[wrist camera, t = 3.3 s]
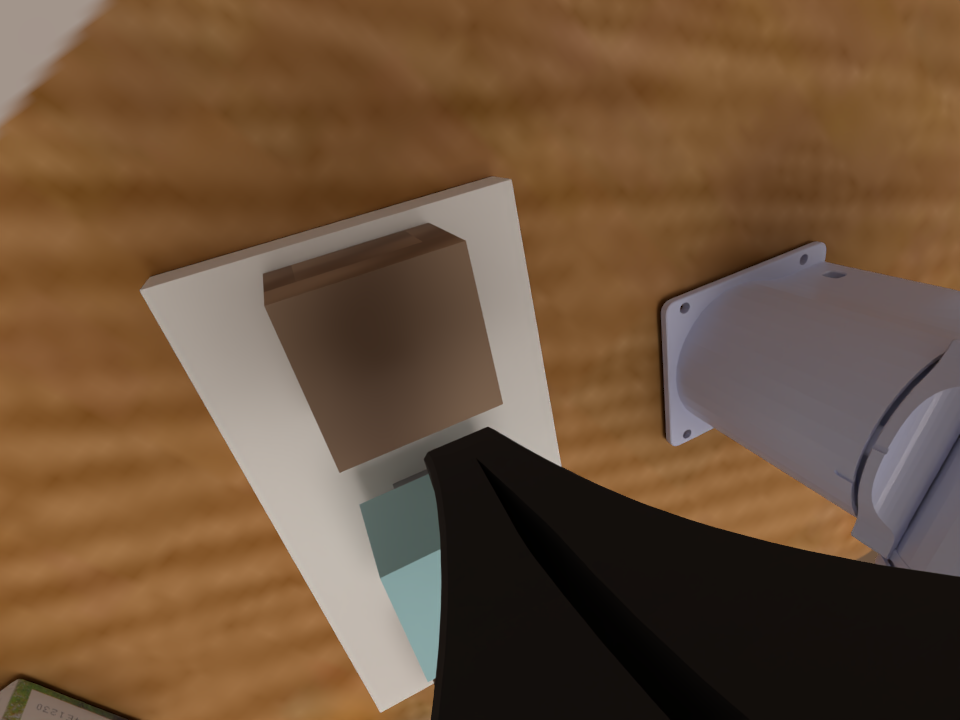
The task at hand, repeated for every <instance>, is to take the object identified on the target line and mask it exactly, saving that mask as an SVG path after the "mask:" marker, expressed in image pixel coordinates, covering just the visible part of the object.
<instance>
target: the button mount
mask: <svg viewBox="0 0 960 720" xmlns="http://www.w3.org/2000/svg"><path fill="white" fill-rule="evenodd" d="M426 223H431V224H433V225H435V226H437V227H439V228H441V229H443V230H445V231H447V232H449V233H451V234H453V235H455V236H457V237H459V238H461V239H464V240H466V243H467V248H468V252H469V256H470V261H471V265H472V269H473V274H474V278H475V283H476V287H477V291H478V296H479V300H480V305H481V309H482V313H483V318H484V322H485V326H486V331H487V335H488V340H489V344H490V348H491V353H492V357H493V361H494V366H495V370H496V375H497V379H498V383H499V388H500V392H501V396H502V401H503V404H502V405H500V406H497V407H495V408H493V409H490V410H488V411H486V412H483V413H481V414H478V415H476V416H474V417H471V418H469V419H467V420H464V421H462V422H459V423H457V424H455V425H452V426H450V427H448V428H445V429H443V430H440V431H438V432H436V433H433V434H431V435H429V436H426V437H424V438H421V439H419V440H417V441H414V442H412V443H410V444H407V445H405V446H402V447H400V448H398V449H395V450H393V451H391V452H388V453H386V454H383V455H381V456H379V457H376V458H374V459H372V460H369V461H367V462H364V463H362V464H360V465H357V466H355V467H353V468H350V469H348V470H345V471H343V472H341V473H339V471H338V468H337V466H336V464H335V462H334V460H333V457H332V455H331V453H330V451H329V449H328V446H327V444H326V442H325V440H324V437H323V435H322V433H321V431H320V429H319V426H318V424H317V422H316V420H315V418H314V415H313V413H312V411H311V409H310V406H309V404H308V402H307V400H306V398H305V395H304V393H303V391H302V389H301V387H300V384H299V382H298V380H297V378H296V375H295V373H294V371H293V369H292V367H291V364H290V362H289V360H288V358H287V356H286V353H285V351H284V349H283V347H282V345H281V342H280V340H279V338H278V336H277V333H276V331H275V329H274V327H273V325H272V322H271V320H270V318H269V316H268V314H267V311H266V309H265V307H264V291H263V274H264V273H267V272H270V271H274V270H277V269H280V268H283V267H287V266H290V265H293V264H296V263H299V262H303V261H306V260H309V259H312V258H316V257H319V256H322V255H325V254H329V253H332V252H335V251H338V250H342V249H345V248H348V247H351V246H355V245H358V244H361V243H364V242H367V241H371V240H374V239H377V238H380V237H384V236H387V235H390V234H393V233H397V232H400V231H403V230H406V229H410V228H413V227H416V226H419V225H422V224H426ZM140 292H141V294H142V296H143V297H144V299H145V301H146V303H147V304H148V306H149V308H150V310H151V312H152V313H153V315H154V317H155V319H156V320H157V322H158V324H159V326H160V327H161V329H162V331H163V333H164V334H165V336H166V338H167V340H168V341H169V343H170V345H171V347H172V348H173V350H174V352H175V354H176V355H177V357H178V359H179V361H180V362H181V364H182V366H183V368H184V369H185V371H186V373H187V375H188V376H189V378H190V380H191V382H192V383H193V385H194V387H195V389H196V390H197V392H198V394H199V396H200V397H201V399H202V401H203V403H204V404H205V406H206V408H207V410H208V411H209V413H210V415H211V417H212V418H213V420H214V422H215V424H216V425H217V427H218V429H219V431H220V432H221V434H222V436H223V438H224V439H225V441H226V443H227V445H228V446H229V448H230V450H231V452H232V453H233V455H234V457H235V459H236V460H237V462H238V464H239V466H240V467H241V469H242V471H243V473H244V474H245V476H246V478H247V480H248V481H249V483H250V485H251V487H252V488H253V490H254V492H255V494H256V495H257V497H258V499H259V501H260V502H261V504H262V506H263V508H264V509H265V511H266V513H267V515H268V516H269V518H270V520H271V522H272V523H273V525H274V527H275V529H276V530H277V532H278V534H279V536H280V537H281V539H282V541H283V543H284V544H285V546H286V548H287V550H288V551H289V553H290V555H291V557H292V558H293V560H294V562H295V564H296V565H297V567H298V569H299V571H300V572H301V574H302V576H303V578H304V579H305V581H306V583H307V585H308V586H309V588H310V590H311V592H312V593H313V595H314V597H315V599H316V601H317V602H318V604H319V606H320V608H321V609H322V611H323V613H324V615H325V616H326V618H327V620H328V622H329V623H330V625H331V627H332V629H333V630H334V632H335V634H336V636H337V637H338V639H339V641H340V643H341V644H342V646H343V648H344V650H345V651H346V653H347V655H348V657H349V658H350V660H351V662H352V664H353V665H354V667H355V669H356V671H357V672H358V674H359V676H360V678H361V679H362V681H363V683H364V685H365V686H366V688H367V690H368V692H369V693H370V695H371V697H372V699H373V700H374V702H375V704H376V706H377V707H378V709H379V711H380V713H381V712H383V711H385V710H386V709H388V708H390V707H392V706H394V705H396V704H397V703H399V702H401V701H403V700H405V699H406V698H408V697H410V696H412V695H414V694H415V693H417V692H419V691H421V690H423V689H424V688H426V687H428V686H430V685H432V684H433V683H434V682H433V680H431V681H429V682H428V681H427V679H426V677H425V675H424V673H423V670H422V668H421V666H420V664H419V662H418V660H417V657H416V655H415V653H414V651H413V649H412V647H411V644H410V642H409V640H408V638H407V636H406V634H405V631H404V629H403V627H402V625H401V623H400V621H399V618H398V616H397V614H396V612H395V610H394V608H393V605H392V603H391V601H390V599H389V597H388V595H387V592H386V590H385V588H384V586H383V584H382V582H381V579H380V577H379V573H378V569H377V566H376V562H375V559H374V555H373V552H372V548H371V545H370V541H369V537H368V534H367V530H366V527H365V523H364V520H363V516H362V513H361V509H360V505H359V504H362V503H364V502H366V501H368V500H371V499H373V498H375V497H377V496H380V495H382V494H384V493H386V492H389V491H391V490H393V489H396V488H398V487H400V486H402V485H405V484H407V483H409V482H411V481H414V480H416V479H418V478H420V477H423V476H425V475H427V474H428V471H427V468H426V465H425V462H424V458H425V456H426V454H427V452H429V451H431V450H433V449H436V448H438V447H441V446H443V445H445V444H448V443H450V442H452V441H455V440H457V439H459V438H462V437H464V436H467V435H469V434H471V433H474V432H476V431H478V430H481V429H483V428H486V427H490V428H492V429H494V430H496V431H498V432H499V433H501V434H503V435H504V436H506V437H508V438H510V439H511V440H513V441H515V442H516V443H518V444H520V445H522V446H523V447H525V448H527V449H529V450H531V451H532V452H534V453H536V454H538V455H540V456H542V457H543V458H545V459H547V460H549V461H551V462H553V463H555V464H557V465H559V466H561V461H560V455H559V450H558V444H557V438H556V432H555V427H554V421H553V415H552V410H551V404H550V398H549V392H548V387H547V381H546V375H545V369H544V364H543V358H542V352H541V346H540V341H539V335H538V329H537V323H536V318H535V312H534V306H533V300H532V295H531V289H530V283H529V277H528V272H527V266H526V260H525V254H524V249H523V243H522V237H521V232H520V226H519V220H518V214H517V209H516V203H515V197H514V191H513V186H512V180H511V179H507V178H501V177H494V176H492V177H488V178H485V179H481V180H478V181H475V182H471V183H468V184H464V185H461V186H458V187H454V188H451V189H447V190H444V191H441V192H437V193H434V194H430V195H427V196H424V197H420V198H417V199H413V200H410V201H407V202H403V203H400V204H396V205H393V206H390V207H386V208H383V209H379V210H376V211H373V212H369V213H366V214H362V215H359V216H356V217H352V218H349V219H345V220H342V221H339V222H335V223H332V224H328V225H325V226H322V227H318V228H315V229H311V230H308V231H305V232H301V233H298V234H294V235H291V236H288V237H284V238H281V239H277V240H274V241H271V242H267V243H264V244H261V245H257V246H254V247H250V248H247V249H244V250H240V251H237V252H233V253H230V254H227V255H223V256H220V257H216V258H213V259H210V260H206V261H203V262H199V263H196V264H193V265H189V266H186V267H182V268H179V269H176V270H172V271H169V272H165V273H162V274H159V275H155V276H152V277H149V279H148V280H147V281H146V283H145V284H144V285H143V286H142V288H141V289H140Z"/></svg>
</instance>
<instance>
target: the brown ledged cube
mask: <svg viewBox="0 0 960 720" xmlns="http://www.w3.org/2000/svg"><path fill="white" fill-rule="evenodd" d="M263 291H264V307H265V309H266V311H267V314H268V316H269V318H270V320H271V322H272V325H273V327H274V329H275V331H276V333H277V336H278V338H279V340H280V342H281V345H282V347H283V349H284V351H285V353H286V356H287V358H288V360H289V362H290V364H291V367H292V369H293V371H294V373H295V375H296V378H297V380H298V382H299V384H300V387H301V389H302V391H303V393H304V395H305V398H306V400H307V402H308V404H309V406H310V409H311V411H312V413H313V415H314V418H315V420H316V422H317V424H318V426H319V429H320V431H321V433H322V435H323V437H324V440H325V442H326V444H327V446H328V449H329V451H330V453H331V455H332V457H333V460H334V462H335V464H336V466H337V468H338V471H339V473H341V472H343V471H345V470H348V469H350V468H353V467H355V466H357V465H360V464H362V463H364V462H367V461H369V460H372V459H374V458H376V457H379V456H381V455H383V454H386V453H388V452H391V451H393V450H395V449H398V448H400V447H402V446H405V445H407V444H410V443H412V442H414V441H417V440H419V439H421V438H424V437H426V436H429V435H431V434H433V433H436V432H438V431H440V430H443V429H445V428H448V427H450V426H452V425H455V424H457V423H459V422H462V421H464V420H467V419H469V418H471V417H474V416H476V415H478V414H481V413H483V412H486V411H488V410H490V409H493V408H495V407H497V406H500V405H502V404H503V401H502V396H501V392H500V388H499V383H498V379H497V375H496V370H495V366H494V361H493V357H492V353H491V348H490V344H489V340H488V335H487V331H486V326H485V322H484V318H483V313H482V309H481V305H480V300H479V296H478V291H477V287H476V283H475V278H474V274H473V269H472V265H471V261H470V256H469V252H468V248H467V243H466V240H464V239H461V238H459V237H457V236H455V235H453V234H451V233H449V232H447V231H445V230H443V229H441V228H439V227H437V226H435V225H433V224H431V223H426V224H422V225H419V226H416V227H413V228H410V229H406V230H403V231H400V232H397V233H393V234H390V235H387V236H384V237H380V238H377V239H374V240H371V241H367V242H364V243H361V244H358V245H355V246H351V247H348V248H345V249H342V250H338V251H335V252H332V253H329V254H325V255H322V256H319V257H316V258H312V259H309V260H306V261H303V262H299V263H296V264H293V265H290V266H287V267H283V268H280V269H277V270H274V271H270V272H267V273H264V274H263Z"/></svg>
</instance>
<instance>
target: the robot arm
mask: <svg viewBox="0 0 960 720" xmlns="http://www.w3.org/2000/svg"><path fill="white" fill-rule="evenodd" d="M825 257H826V245H825V244H824V243H823V242H817V241H815V242H812V243H809V244H807V245H804V246H802V247H799V248H797V249H794V250H792V251H789V252H787V253H784V254H782V255H779V256H777V257H774V258H772V259H769V260H767V261H764V262H762V263H759V264H757V265H754V266H752V267H749V268H747V269H744V270H742V271H739V272H737V273H734V274H732V275H729V276H727V277H724V278H722V279H719V280H717V281H714V282H712V283H709V284H707V285H704V286H702V287H699V288H697V289H694V290H692V291H689V292H687V293H684V294H682V295H679V296H677V297H674V298H672V299H669V300H668V301H666V302H665V304H664V305H663V307H662V309H661V326H662V350H663V373H664V396H665V419H666V439H667V441H668V442H669V443H670V444H671V445H673V446H678V445H680V444H682V443H684V442H686V441H688V440H691V439H693V438H695V437H697V436H699V435H701V434H703V433H705V432H707V431H709V430H711V429H713V428H715V429H717V430H718V431H720V432H721V433H723V434H725V435H726V436H728V437H729V438H731V439H732V440H734V441H736V442H737V443H739V444H740V445H742V446H744V447H745V448H747V449H748V450H750V451H751V452H753V453H755V454H756V455H758V456H759V457H761V458H763V459H764V460H766V461H767V462H769V463H770V464H772V465H774V466H775V467H777V468H778V469H780V470H782V471H783V472H785V473H786V474H788V475H789V476H791V477H793V478H794V479H796V480H797V481H799V482H801V483H802V484H804V485H805V486H807V487H808V488H810V489H812V490H813V491H815V492H816V493H818V494H820V495H821V496H823V497H824V498H826V499H827V500H829V501H831V502H832V503H834V504H835V505H837V506H839V507H840V508H842V509H843V510H845V511H846V512H848V513H850V514H851V515H853V516H854V517H856V518H857V520H856V523H855V525H854V528H853V530H852V532H851V535H852V536H853V537H855V538H856V539H858V540H859V541H861V542H862V543H864V544H865V545H867V546H868V547H870V548H871V549H873V550H874V551H876V552H877V553H878V555H877V556H876V561H875V564H872V563H867V562H861V561H856V560H851V559H846V558H841V557H836V556H831V555H826V554H821V553H816V552H811V551H806V550H802V549H798V548H793V547H789V546H785V545H780V544H776V543H771V542H767V541H764V540H760V539H756V538H752V537H749V536H745V535H741V534H737V533H734V532H730V531H726V530H722V529H719V528H715V527H712V526H708V525H705V524H702V523H699V522H695V521H692V520H689V519H686V518H683V517H680V516H677V515H674V514H671V513H668V512H666V511H663V510H660V509H657V508H654V507H651V506H648V505H646V504H643V503H640V502H638V501H635V500H633V499H630V498H628V497H626V496H623V495H621V494H619V493H616V492H614V491H612V490H609V489H607V488H605V487H602V486H600V485H598V484H596V483H594V482H591V481H589V480H587V479H585V478H583V477H581V476H579V475H577V474H575V473H573V472H571V471H569V470H567V469H565V468H563V467H561V466H559V465H557V464H555V463H553V462H551V461H549V460H547V459H545V458H543V457H542V456H540V455H538V454H536V453H534V452H532V451H531V450H529V449H527V448H525V447H523V446H522V445H520V444H518V443H516V442H515V441H513V440H511V439H510V438H508V437H506V436H504V435H503V434H501V433H499V432H498V431H496V430H494V429H492V428H490V427H486V428H483V429H481V430H478V431H476V432H474V433H471V434H469V435H467V436H464V437H462V438H459V439H457V440H455V441H452V442H450V443H448V444H445V445H443V446H441V447H438V448H436V449H433V450H431V451H429V452H427V454H426V456H425V458H424V462H425V465H426V468H427V471H428V474H429V477H430V480H431V483H432V486H433V489H434V492H435V497H436V503H437V512H438V522H439V532H440V551H441V611H440V630H439V646H438V658H437V668H436V678H435V688H434V698H433V707H432V715H431V720H960V291H957V290H953V289H948V288H944V287H939V286H935V285H930V284H925V283H921V282H916V281H911V280H907V279H902V278H897V277H893V276H888V275H884V274H879V273H874V272H870V271H865V270H860V269H856V268H851V267H847V266H842V265H837V264H833V263H828V262H825ZM682 304H683V307H682V309H681V310H680V308H681V306H682Z"/></svg>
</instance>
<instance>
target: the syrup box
mask: <svg viewBox="0 0 960 720" xmlns="http://www.w3.org/2000/svg"><path fill="white" fill-rule="evenodd" d="M0 720H128V719H125V718H122V717H120V716H117V715H115V714H112V713H109V712H106V711H104V710H102V709H99V708H96V707H94V706H91V705H88V704H86V703H84V702H82V701H79V700H76V699H73V698H70V697H68V696H65V695H63V694H60V693H58V692H55V691H53V690H50V689H48V688H45V687H43V686H40V685H38V684H35V683H32V682H29V681H26V680H23V679H17V680H15V681H14V682H12V683H11V684H9V685H8V686H6V687H5V688H4V689H3V690H1V691H0Z"/></svg>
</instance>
